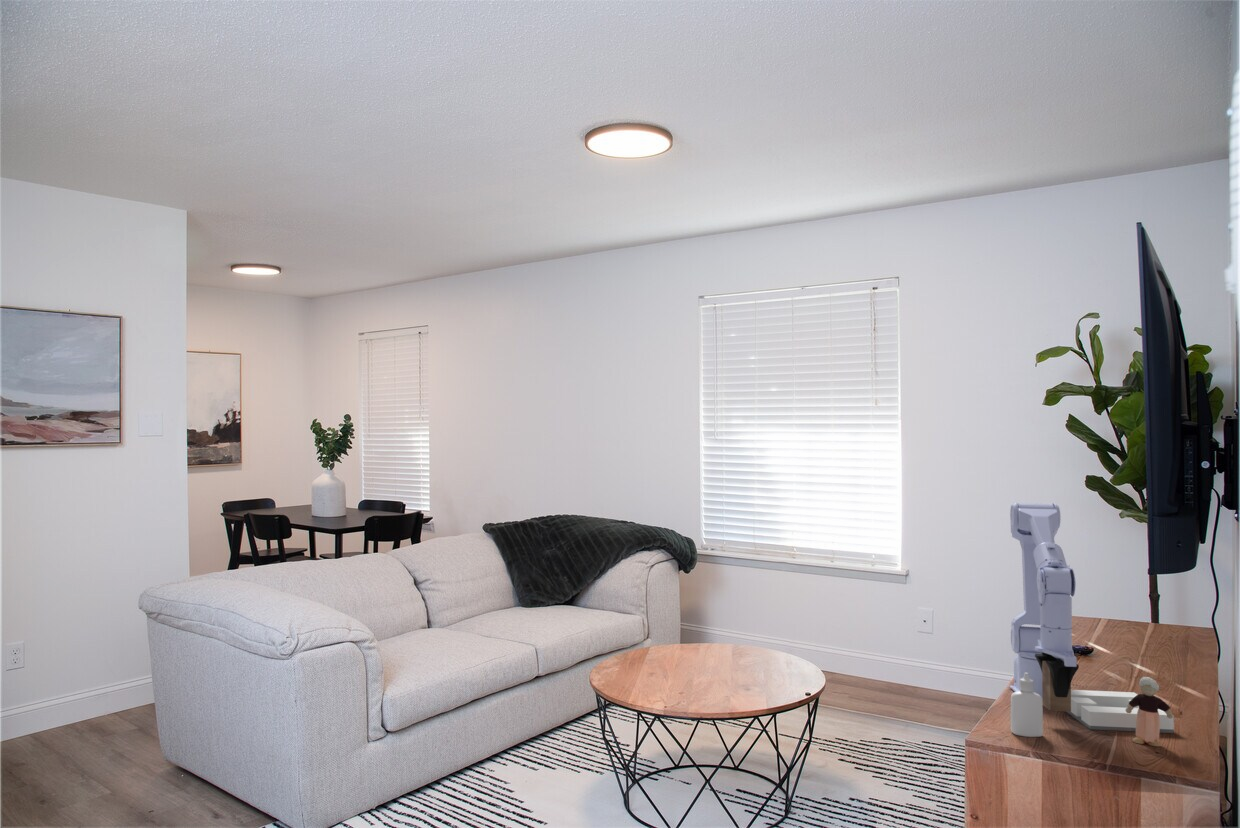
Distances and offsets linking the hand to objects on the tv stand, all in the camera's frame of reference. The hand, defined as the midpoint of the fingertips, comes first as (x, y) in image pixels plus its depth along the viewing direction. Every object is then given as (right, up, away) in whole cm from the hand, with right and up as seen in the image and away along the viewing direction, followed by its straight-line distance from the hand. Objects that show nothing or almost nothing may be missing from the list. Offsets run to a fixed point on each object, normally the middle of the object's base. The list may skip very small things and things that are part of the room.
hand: (1056, 693), depth 172 cm
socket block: (+15, -7, +5) cm, 17 cm away
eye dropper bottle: (-9, -7, -5) cm, 12 cm away
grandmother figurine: (+13, -7, -10) cm, 18 cm away
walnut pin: (0, -3, 0) cm, 3 cm away
